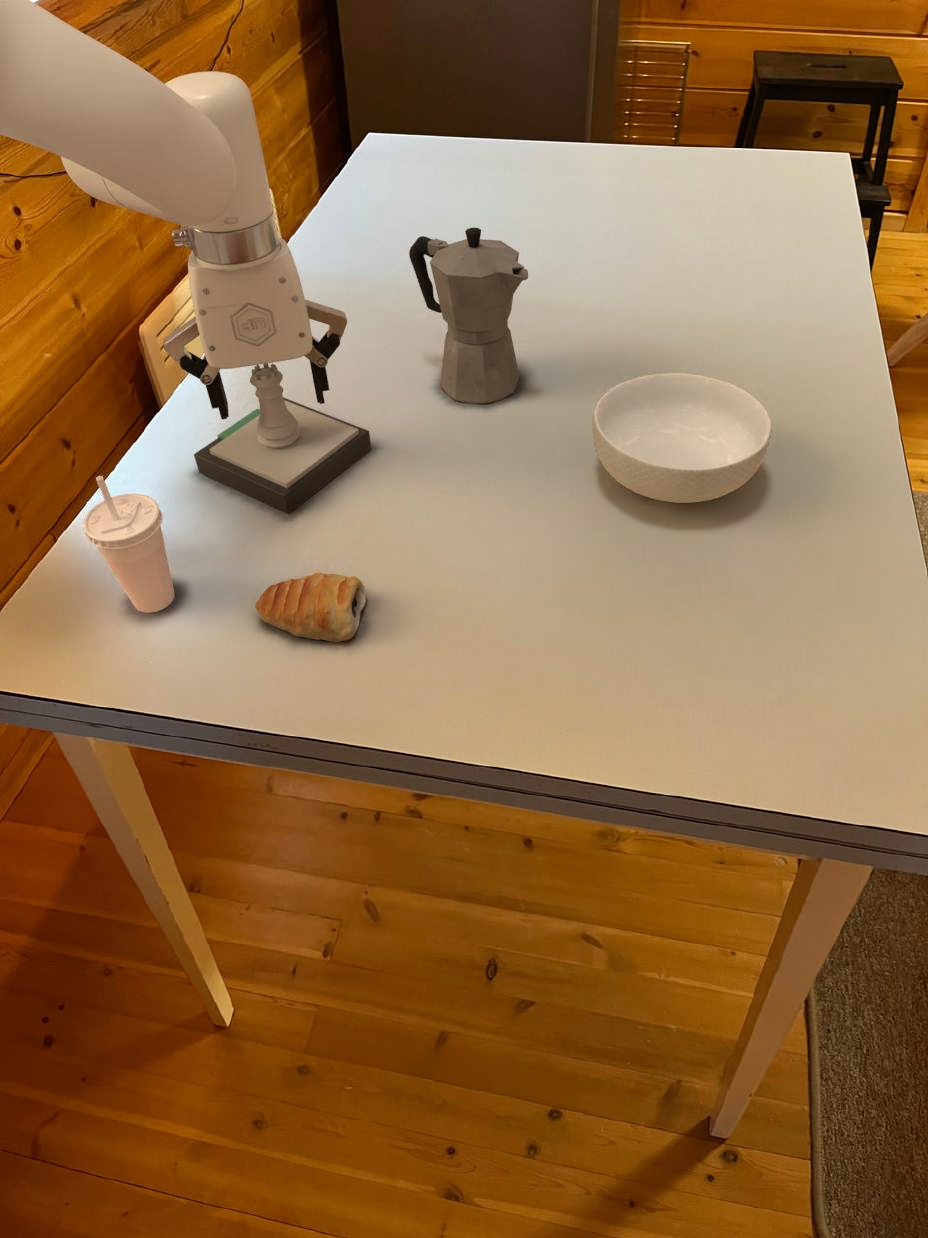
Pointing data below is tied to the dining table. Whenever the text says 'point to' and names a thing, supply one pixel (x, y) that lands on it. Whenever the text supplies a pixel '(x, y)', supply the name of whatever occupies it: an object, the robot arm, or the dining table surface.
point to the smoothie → (132, 546)
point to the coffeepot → (473, 312)
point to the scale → (284, 457)
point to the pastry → (315, 606)
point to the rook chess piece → (273, 409)
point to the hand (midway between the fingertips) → (272, 404)
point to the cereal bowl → (680, 436)
